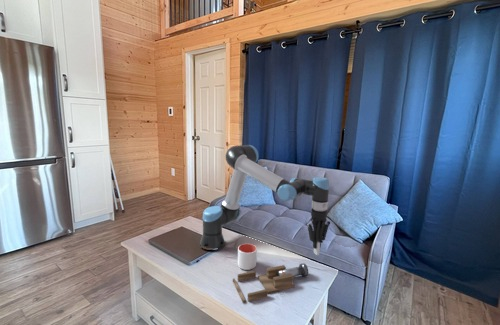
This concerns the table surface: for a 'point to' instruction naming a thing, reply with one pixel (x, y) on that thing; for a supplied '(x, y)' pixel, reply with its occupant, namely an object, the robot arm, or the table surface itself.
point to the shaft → (295, 271)
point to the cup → (247, 256)
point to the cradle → (266, 283)
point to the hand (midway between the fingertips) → (316, 253)
